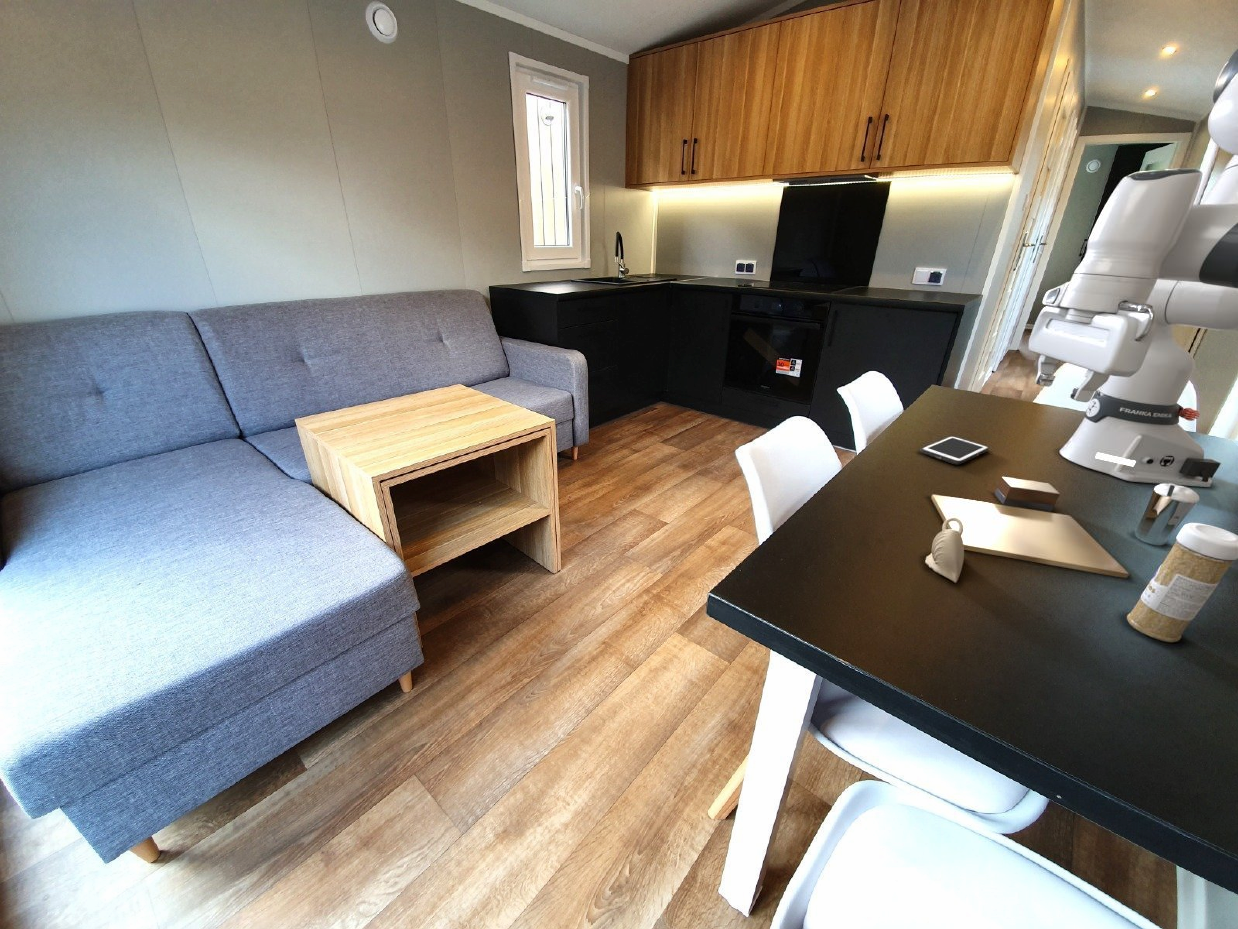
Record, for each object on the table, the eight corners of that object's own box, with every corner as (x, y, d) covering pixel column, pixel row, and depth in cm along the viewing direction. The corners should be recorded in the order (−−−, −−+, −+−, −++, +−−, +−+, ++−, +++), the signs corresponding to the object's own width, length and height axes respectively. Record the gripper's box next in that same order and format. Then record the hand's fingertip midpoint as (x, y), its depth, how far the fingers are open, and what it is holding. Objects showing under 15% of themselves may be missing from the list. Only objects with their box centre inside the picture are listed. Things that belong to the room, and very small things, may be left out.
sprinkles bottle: (1125, 610, 60) (1183, 516, 54) (1178, 630, 57) (1245, 533, 51) (1125, 629, 57) (1186, 532, 51) (1181, 651, 54) (1252, 550, 48)
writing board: (1067, 519, 80) (1070, 515, 79) (1126, 578, 66) (1129, 573, 65) (930, 498, 85) (932, 494, 84) (958, 548, 71) (960, 544, 71)
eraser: (1040, 501, 85) (1048, 483, 84) (1051, 512, 82) (1060, 493, 80) (994, 494, 87) (1001, 476, 86) (1002, 504, 84) (1010, 486, 82)
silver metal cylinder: (1119, 535, 76) (1151, 478, 71) (1137, 529, 78) (1170, 473, 73) (1158, 552, 72) (1194, 492, 68) (1176, 544, 74) (1212, 486, 70)
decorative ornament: (920, 570, 66) (932, 537, 64) (933, 544, 72) (944, 513, 69) (955, 584, 64) (969, 550, 61) (965, 556, 69) (978, 524, 67)
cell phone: (918, 452, 103) (919, 448, 102) (950, 439, 111) (952, 435, 110) (957, 466, 97) (959, 461, 97) (989, 451, 105) (990, 446, 104)
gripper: (1190, 307, 60) (1132, 415, 65) (1083, 295, 78) (1045, 380, 84) (1131, 302, 61) (1079, 408, 66) (1039, 291, 79) (1004, 375, 85)
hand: (1059, 392), depth 75 cm, fingers open, 8 cm apart
